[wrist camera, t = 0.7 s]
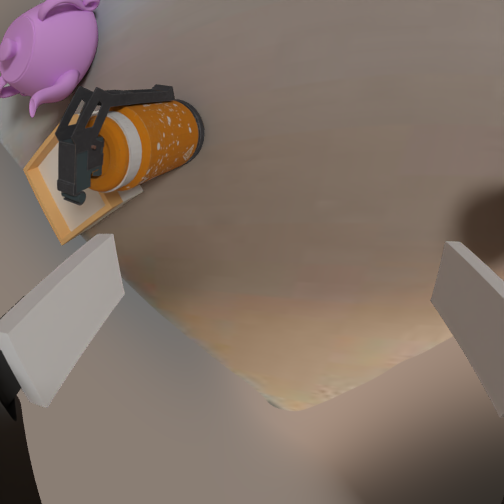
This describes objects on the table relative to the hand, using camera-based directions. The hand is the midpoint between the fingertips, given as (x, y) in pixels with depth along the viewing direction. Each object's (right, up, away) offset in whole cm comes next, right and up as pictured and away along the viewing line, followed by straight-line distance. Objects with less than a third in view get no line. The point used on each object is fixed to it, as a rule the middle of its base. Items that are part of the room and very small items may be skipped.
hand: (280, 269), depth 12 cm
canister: (-11, +17, +28) cm, 34 cm away
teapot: (-29, +32, +27) cm, 50 cm away
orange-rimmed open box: (-26, +13, +35) cm, 46 cm away
